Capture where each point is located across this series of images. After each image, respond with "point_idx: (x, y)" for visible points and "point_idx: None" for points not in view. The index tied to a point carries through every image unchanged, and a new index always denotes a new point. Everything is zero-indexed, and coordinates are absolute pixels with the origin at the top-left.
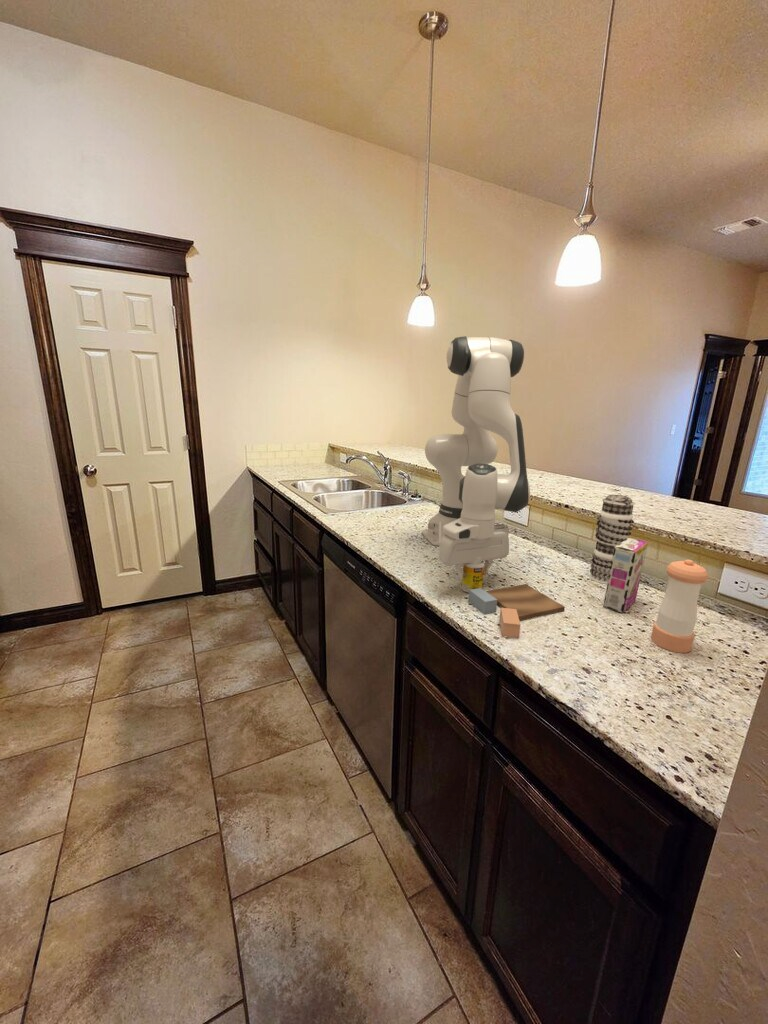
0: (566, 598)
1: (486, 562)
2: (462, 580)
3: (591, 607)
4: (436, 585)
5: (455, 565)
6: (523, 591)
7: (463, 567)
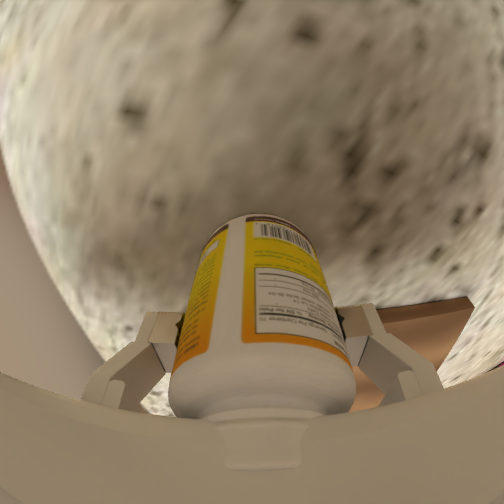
0: (470, 355)
1: (397, 374)
2: (192, 286)
3: (459, 383)
4: (89, 163)
5: (95, 377)
6: (416, 351)
7: (174, 360)
